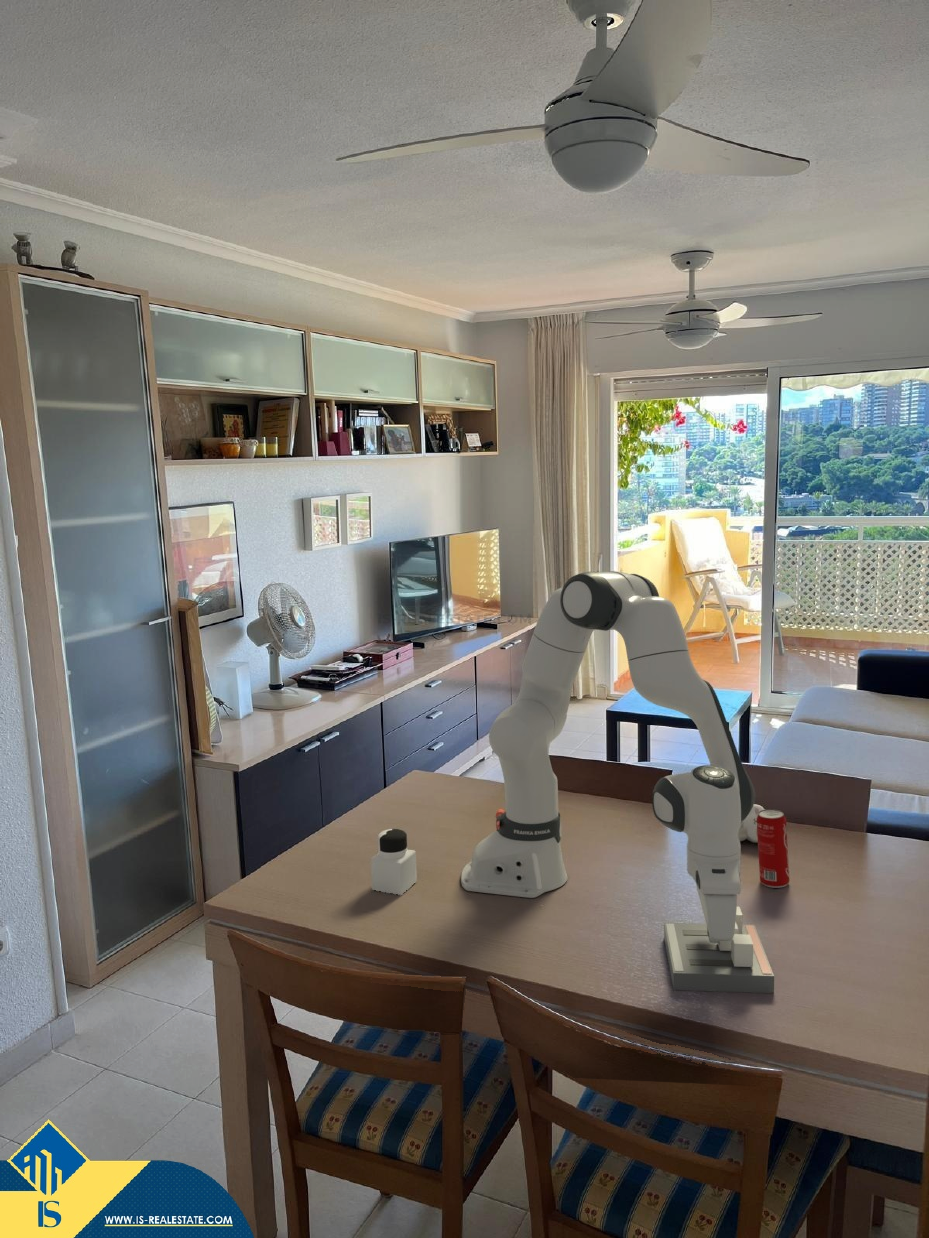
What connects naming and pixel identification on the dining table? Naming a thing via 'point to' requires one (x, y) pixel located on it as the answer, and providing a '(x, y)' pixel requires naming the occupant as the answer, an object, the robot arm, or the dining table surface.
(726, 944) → the beige square block
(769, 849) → the beverage can
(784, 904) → the dining table surface
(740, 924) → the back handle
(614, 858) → the dining table surface
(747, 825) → the cat figurine
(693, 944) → the grey slider board
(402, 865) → the medicine bottle
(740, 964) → the front handle
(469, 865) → the robot arm
